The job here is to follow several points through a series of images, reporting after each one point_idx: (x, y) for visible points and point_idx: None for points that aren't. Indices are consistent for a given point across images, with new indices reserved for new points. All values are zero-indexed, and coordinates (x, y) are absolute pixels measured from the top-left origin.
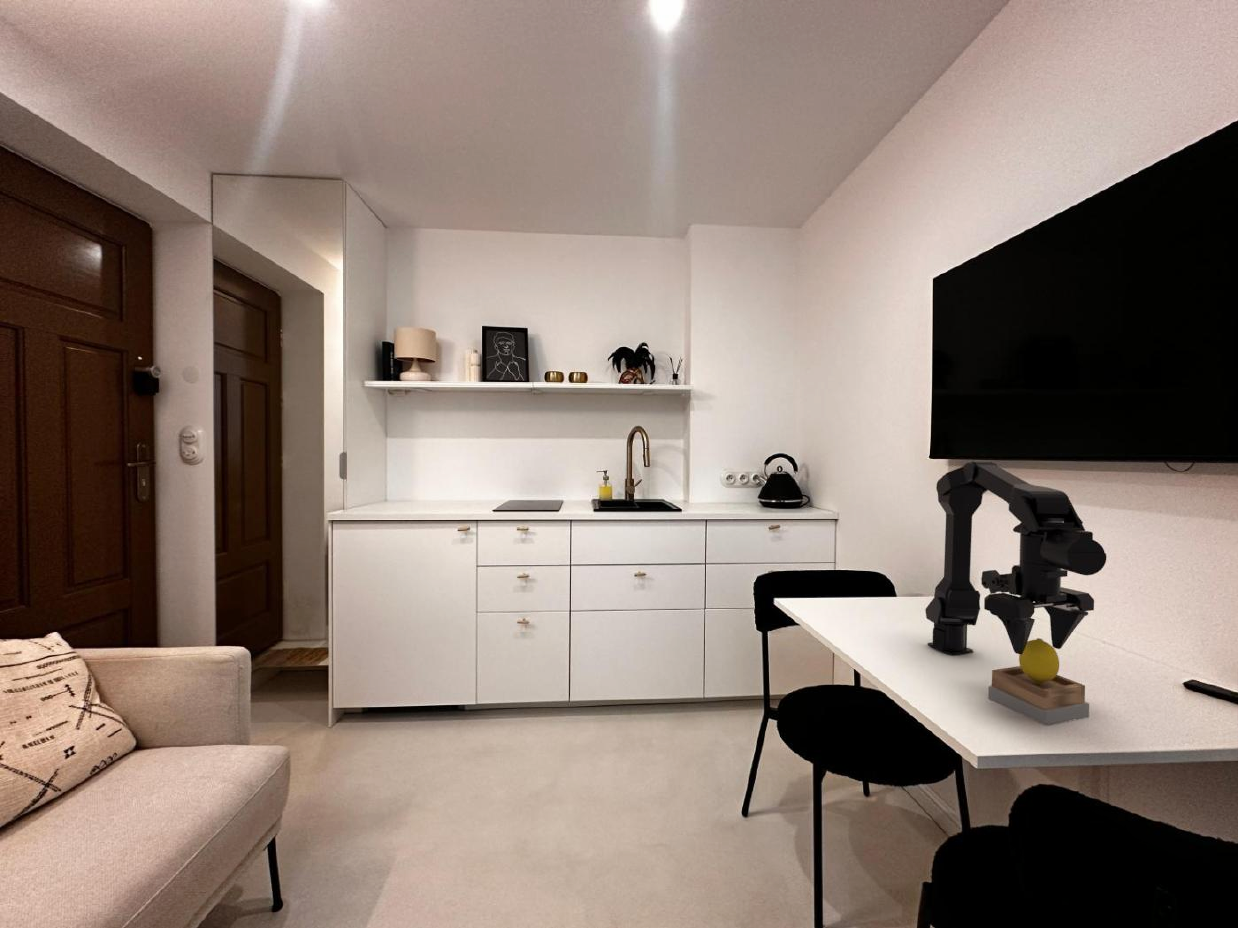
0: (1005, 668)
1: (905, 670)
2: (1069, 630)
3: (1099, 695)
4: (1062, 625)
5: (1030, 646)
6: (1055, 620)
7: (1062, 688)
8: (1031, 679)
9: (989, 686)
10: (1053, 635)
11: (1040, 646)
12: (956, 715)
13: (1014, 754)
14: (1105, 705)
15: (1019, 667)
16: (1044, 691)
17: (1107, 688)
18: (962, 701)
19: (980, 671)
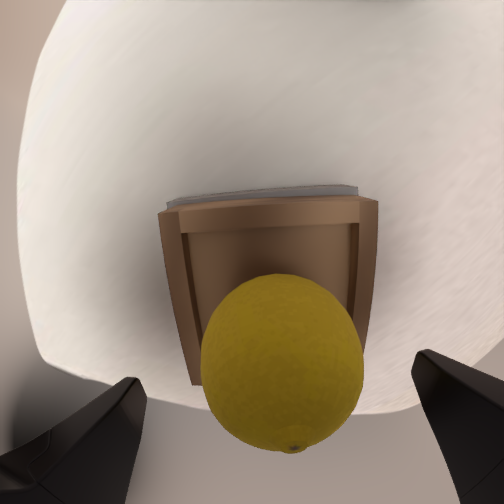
0: (230, 209)
1: (114, 21)
2: (449, 468)
3: (464, 249)
4: (473, 460)
5: (219, 413)
6: (502, 449)
7: None
8: (286, 270)
9: (168, 204)
10: (449, 390)
11: (249, 443)
12: (54, 261)
13: (79, 376)
14: (429, 290)
15: (303, 215)
16: (196, 381)
17: (497, 227)
18: (100, 202)
19: (327, 44)
